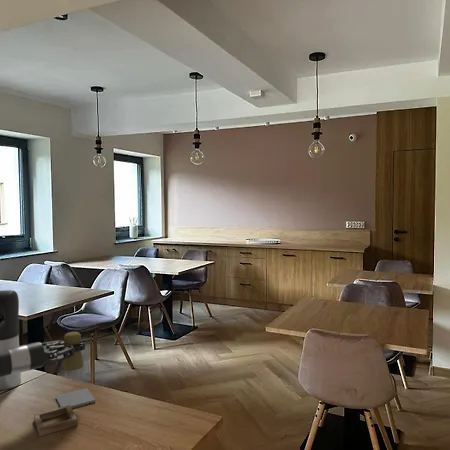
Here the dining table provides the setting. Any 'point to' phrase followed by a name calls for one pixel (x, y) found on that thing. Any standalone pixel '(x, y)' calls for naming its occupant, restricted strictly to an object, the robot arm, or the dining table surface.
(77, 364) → the cork
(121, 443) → the dining table surface
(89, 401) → the slate tile
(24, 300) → the dining table surface
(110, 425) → the dining table surface
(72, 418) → the wooden square frame
